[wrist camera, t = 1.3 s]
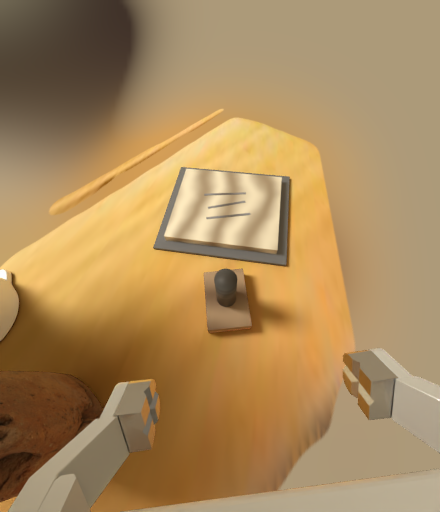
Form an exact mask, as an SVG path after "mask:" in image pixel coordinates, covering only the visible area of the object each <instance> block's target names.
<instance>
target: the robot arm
mask: <svg viewBox="0 0 440 512" xmlns="http://www.w3.org/2000/svg"><path fill="white" fill-rule="evenodd" d="M18 308H19V298H18V294H17V292H16V290H15V289H14V287H13V286H12V275H11V272H9V271H7V270H0V341H1V340H2V339H3V338H4V337H5V335H6V334H7V333H8V331H9V330H10V328H11V327H12V325H13V323H14V321H15V319H16V316H17V313H18ZM343 362H344V363H345V365H346V366H345V368H344V369H343V379H344V383H345V385H346V387H347V389H348V391H349V392H350V394H351V395H353V396H355V397H356V398H358V405H359V407H360V408H361V410H362V411H363V413H364V414H365V415H366V417H367V418H368V420H375V419H384V418H392V420H394V421H395V422H396V423H398V424H399V425H401V426H402V427H403V428H405V429H406V430H408V431H409V432H411V433H412V434H413V435H415V436H416V437H418V438H419V439H420V440H422V441H423V442H425V443H426V444H427V445H429V446H430V447H432V448H433V449H434V450H436V451H437V452H439V453H440V386H439V385H436V384H434V383H432V382H430V381H427V380H425V379H423V378H420V377H418V376H414V377H413V376H412V375H411V374H410V373H409V372H408V371H406V370H405V369H404V368H403V367H402V366H401V365H400V364H399V363H398V362H397V361H396V360H394V359H393V358H392V357H391V356H390V355H389V354H388V353H387V352H386V351H385V350H383V349H381V348H377V349H369V350H365V351H357V352H350V353H344V355H343ZM155 390H156V383H155V380H154V379H147V380H137V381H130V382H121V383H118V384H117V385H116V386H115V388H114V390H113V392H112V394H111V396H110V398H109V400H108V402H107V404H106V406H105V408H104V410H103V412H102V414H101V416H100V418H99V419H95V420H94V421H93V422H92V423H91V424H89V425H88V426H87V427H86V428H85V429H84V430H83V431H82V432H80V433H79V434H78V435H77V436H76V437H75V438H74V439H73V440H71V441H70V442H69V443H68V444H67V445H66V446H65V447H64V448H62V449H61V450H60V451H59V452H58V453H57V454H56V455H55V456H53V457H52V458H51V459H50V460H49V461H48V462H47V463H46V464H44V465H43V466H42V467H41V468H40V469H39V470H38V471H37V472H35V473H34V474H33V475H32V476H31V477H30V478H29V479H28V481H27V482H26V484H25V485H24V487H23V488H22V490H21V492H20V493H19V495H18V496H17V498H16V499H15V501H14V503H13V504H12V506H11V507H10V509H9V510H8V512H91V511H90V508H91V507H92V505H93V504H94V502H95V501H96V500H97V498H98V497H99V496H100V494H101V493H102V491H103V490H104V489H105V487H106V486H107V485H108V483H109V482H110V480H111V479H112V478H113V476H114V475H115V474H116V472H117V471H118V469H119V468H120V467H121V465H122V464H123V462H124V461H125V460H126V458H127V457H128V456H129V453H132V452H138V451H144V450H150V449H152V445H153V441H154V437H155V432H156V430H155V427H154V425H155V424H156V422H157V421H158V419H159V415H160V398H159V394H157V393H156V392H155ZM122 512H440V469H434V470H426V471H419V472H411V473H404V474H396V475H389V476H382V477H374V478H367V479H360V480H352V481H346V482H338V483H331V484H323V485H316V486H308V487H301V488H294V489H286V490H278V491H271V492H263V493H256V494H248V495H241V496H233V497H226V498H218V499H211V500H203V501H196V502H189V503H181V504H174V505H166V506H159V507H151V508H144V509H136V510H129V511H122Z"/></svg>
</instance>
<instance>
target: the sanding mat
mask: <svg viewBox="0 0 440 512" xmlns="http://www.w3.org/2000/svg"><path fill="white" fill-rule="evenodd" d="M186 169H196V170H207V171H218V172H230V171H219V170H208V169H197V168H186V167H181V169H180V172H179V175H178V178H177V181H176V184H175V187H174V190H173V192H172V195H171V198H170V201H169V204H168V207H167V210H166V213H165V215H164V218H163V221H162V224H161V227H160V230H159V233H158V236H157V238H156V241H155V244H154V247H153V248H154V249H158V250H165V251H173V252H180V253H188V254H196V255H203V256H211V257H219V258H226V259H234V260H241V261H249V262H257V263H264V264H272V265H280V266H286V261H287V233H288V205H289V178H290V177H286V176H275V175H264V174H252V173H241V172H230V173H241V174H252V175H263V176H274V177H282V181H281V198H280V216H279V233H278V250H277V253H276V254H270V253H262V252H254V251H246V250H239V249H231V248H223V247H215V246H207V245H199V244H191V243H183V242H175V241H167V240H165V238H164V234H165V231H166V228H167V225H168V222H169V219H170V216H171V213H172V210H173V207H174V204H175V201H176V198H177V195H178V192H179V189H180V186H181V183H182V180H183V177H184V174H185V171H186Z"/></svg>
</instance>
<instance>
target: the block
mask: <svg viewBox="0 0 440 512" xmlns="http://www.w3.org/2000/svg"><path fill="white" fill-rule="evenodd" d="M102 412H103V409H102V407H101V405H100V402H99V401H98V399H97V398H96V397H95V395H94V394H93V393H92V391H91V390H90V389H89V388H88V387H87V386H86V385H85V384H84V383H83V382H82V381H80V380H78V379H77V378H75V377H74V376H71V375H67V374H60V373H52V372H24V371H0V502H2V501H5V500H8V499H10V498H13V497H15V496H18V495H19V493H20V492H21V490H22V488H23V487H24V485H25V484H26V482H27V481H28V479H29V478H30V477H31V476H32V475H33V474H34V473H35V472H37V471H38V470H39V469H40V468H41V467H42V466H43V465H44V464H46V463H47V462H48V461H49V460H50V459H51V458H52V457H53V456H55V455H56V454H57V453H58V452H59V451H60V450H61V449H62V448H64V447H65V446H66V445H67V444H68V443H69V442H70V441H71V440H73V439H74V438H75V437H76V436H77V435H78V434H79V433H80V432H82V431H83V430H84V429H85V428H86V427H87V426H88V425H89V424H91V423H92V422H93V421H94V420H95V419H99V418H100V416H101V414H102Z"/></svg>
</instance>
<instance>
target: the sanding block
mask: <svg viewBox="0 0 440 512" xmlns="http://www.w3.org/2000/svg"><path fill="white" fill-rule="evenodd" d="M204 284H205V298H206V313H207V327H208V332H209V333H215V332H224V331H234V330H243V329H251V327H252V323H251V317H250V311H249V305H248V298H247V292H246V286H245V280H244V273H243V269H235V270H230V269H222V270H219V271H215V272H206V273H204Z"/></svg>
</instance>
